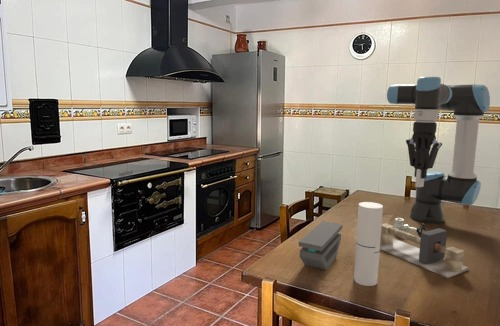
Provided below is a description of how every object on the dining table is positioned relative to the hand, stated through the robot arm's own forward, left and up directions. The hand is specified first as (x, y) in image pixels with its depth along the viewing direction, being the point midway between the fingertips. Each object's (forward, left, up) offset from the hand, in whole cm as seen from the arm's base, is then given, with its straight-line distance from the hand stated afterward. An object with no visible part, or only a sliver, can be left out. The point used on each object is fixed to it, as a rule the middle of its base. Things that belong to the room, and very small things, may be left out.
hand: (419, 186), depth 135 cm
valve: (-16, -14, -27) cm, 35 cm away
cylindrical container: (+31, +6, -27) cm, 42 cm away
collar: (0, +8, -25) cm, 26 cm away
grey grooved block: (+34, -12, -27) cm, 45 cm away
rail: (0, +2, -26) cm, 26 cm away
